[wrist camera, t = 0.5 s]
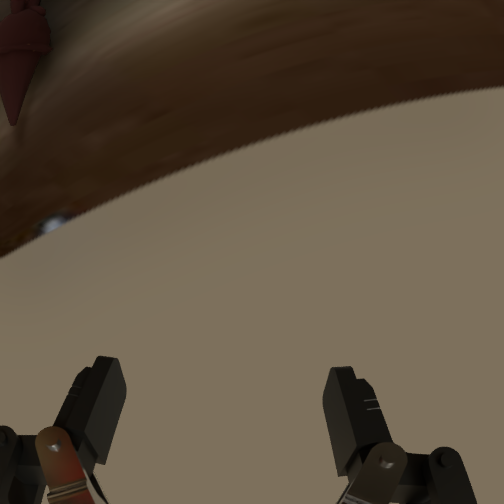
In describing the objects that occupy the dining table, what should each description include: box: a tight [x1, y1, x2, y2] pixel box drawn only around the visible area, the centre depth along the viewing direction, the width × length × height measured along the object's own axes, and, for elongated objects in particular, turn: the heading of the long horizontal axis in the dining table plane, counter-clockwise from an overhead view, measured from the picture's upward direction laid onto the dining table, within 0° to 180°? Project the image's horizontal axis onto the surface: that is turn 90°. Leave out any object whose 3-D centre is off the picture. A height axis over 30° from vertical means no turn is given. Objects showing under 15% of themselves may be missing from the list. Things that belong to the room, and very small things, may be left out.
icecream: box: [0, 0, 53, 126], centre depth 18 cm, size 7×7×15 cm
